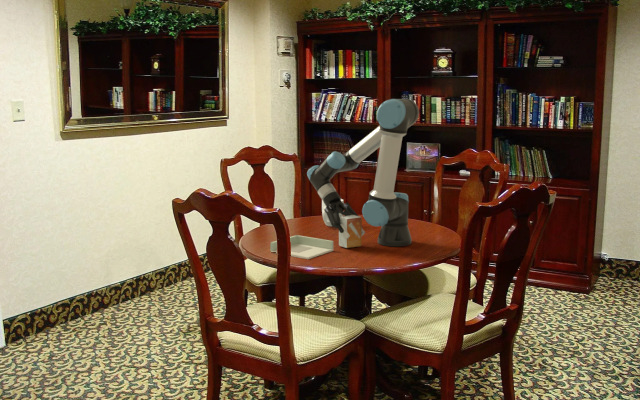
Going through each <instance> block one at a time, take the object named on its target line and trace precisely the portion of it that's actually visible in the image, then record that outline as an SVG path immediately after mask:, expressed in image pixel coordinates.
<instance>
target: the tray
mask: <svg viewBox="0 0 640 400" xmlns="http://www.w3.org/2000/svg"><path fill="white" fill-rule="evenodd" d="M289 237H290V242H291V256H290V257H293V258H294V257H295V258H299V259H306V260H310V259H314V258H316V257H318V256H319V257H320V256H322V255H325V254H327V253H331V252H334V240H330V239H329V240H328V239H324V238H317V237H312V236H311V237H310V236H305V235H304V236H303V235H298V234H296V235H293V236H292V235H291V236H289ZM269 246H270V248H269V249H270V251H271V252H276V253H275V254H277V240H274V241H270V245H269ZM271 252H270V253H271Z"/></svg>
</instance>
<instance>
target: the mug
mask: <svg viewBox="0 0 640 400" xmlns="http://www.w3.org/2000/svg"><path fill="white" fill-rule="evenodd" d="M341 202H342V203H343V204H345V203H344V199H342V198H341ZM325 208H326V205H325V204H324V202H323V200H322V199H321V212H322V213H321V215H322V219H323V222H324V224H325V226H328V227H332V225H331V223H330V220H329V218H328V216H327V213H326V212H325V211H324V209H325ZM344 211H345V210H344ZM344 211H343V212H344ZM342 216H344V215H342V214H341V213H339V217H342ZM333 223H334V222H333Z"/></svg>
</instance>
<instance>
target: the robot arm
mask: <svg viewBox="0 0 640 400" xmlns="http://www.w3.org/2000/svg"><path fill="white" fill-rule="evenodd" d="M419 115H420V109H419V107H418V104H417V103H416V102H414V101H413V100H412V99H410V98H390V99H387V100H385V101H383V102H382V103H381V104H380V105H379V107H378V109H377V112H376V121H377V122H378V124H379V125H378V126H377V127H376V128H374V130H372V131H370V132H369V134H367V135H366V136H365V137H363V138H362V139H361V140H359V142H357V143H356V144H355V145H354V146H353V147H351V148H350V149H349V150H347V152H345V153H343V154H342V153H341V152H340V151H339V152H338V151H336V150H335V151H332V152H331V154H329V155H328V156H327V158H325V160H323V162H322V163H321V164H320V165H318V164H317V165H313V166H311V167H309V168H308V170H307V172H306V175H307V178H308V180H309V182H310V184H311V185H312V187H314V189H315V190H316V193H317V194H318V196H319V198H320V199H321V201H322V200H323V202H324V204H325V205H326V208H325V209H324V211H325V212H326V213H327V216H328V218H329V220H330V223H331V225H332V226H331V227H332V228H334V229H335V230H336V229H338V232H339V231H340V233H342V235H343V236H344V238H345V240H347V239H348V238H349V237H350V235H349V233H348V232H347V230H346V229H345V227H344V226H343V224H341V223H340V218H339V213H341V214H342V215H343V216H350V215H356V216H359V215H358V214H357V212H356V211H355V210H354V209H353V208H352V206H351V205H350V203H349V202H346V203H344V204H343V203H342V202H341V199H342V198H341V196H340V194H339V192H337V190H336V188H335V187H334V185H333V184H332V182H331V179H333V177H334V176H335V175H336V174H337V173H341V172H347V171H354V169H355V170H356V169H357V168H358V167H359V166H360V163H361V162H362V161H364V160H365V159H366V158H368V157H369V156H370V155H371V154H373V153H374V152H375V151H376V150H378V149H379V153H378V158H377V164H376V172H375V178H374V185H373V189H372V190H371V191H369V194H368V200H367V201H366V202H365V203H364V204H363V206H362V209H361V213H362V216H363V218H364V221H365V222H366V223H367V224H368V225H370V226H372V227H377V228H378V227H380V230H379V233H378V236H377V244H379V245H381V246H386V247H406V246H410V245H411V244H412V236H411V232H410V229H409V203H410V200H409V195H408V194H407V193H404V192H397V191H395V186H396V185H395V184H396V179H397V173H398V166H399V161H400V155H401V154H400V153H401V148H402V144H403V143H402V141H403V137H405V136H406V135H407V134H408V133H407V132H408V129H409V128H410V127H411V126H413V125H414V124H415V123H417V121H418V119H419ZM394 191H395V192H394ZM343 211H344V212H343ZM333 222H334V223H333ZM340 224H341V225H340ZM365 234H366V231H365V230H364V229H363V227H362V230H361V237H363V236H364V235H365Z"/></svg>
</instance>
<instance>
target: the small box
mask: <svg viewBox="0 0 640 400" xmlns="http://www.w3.org/2000/svg"><path fill="white" fill-rule="evenodd" d="M339 218H340V223H341V224H343V226H344V227H345V229H346V230H347V232H348V233H349V235H350V237H349V238H348V239H347V240H345V238H344V236H343V235H342V233H340V231H339V230H338V246H340V247H343V248H346V249H349V248H355V247H361V246H362V236H361V230H362V228H363V226H362V221H363V219H362V216H360V215H358V216H356V215H350V216H345V215H343V216H342V217H339ZM341 224H340V225H341Z"/></svg>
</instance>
